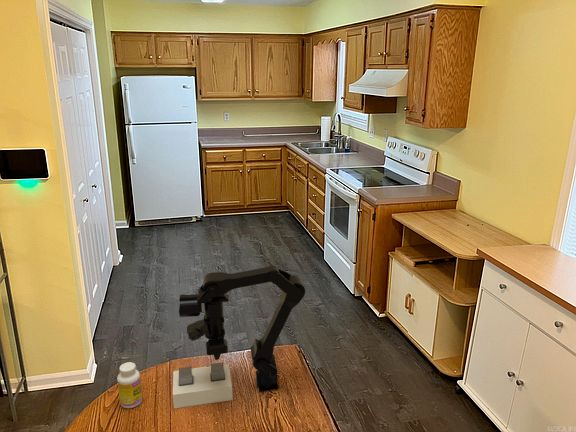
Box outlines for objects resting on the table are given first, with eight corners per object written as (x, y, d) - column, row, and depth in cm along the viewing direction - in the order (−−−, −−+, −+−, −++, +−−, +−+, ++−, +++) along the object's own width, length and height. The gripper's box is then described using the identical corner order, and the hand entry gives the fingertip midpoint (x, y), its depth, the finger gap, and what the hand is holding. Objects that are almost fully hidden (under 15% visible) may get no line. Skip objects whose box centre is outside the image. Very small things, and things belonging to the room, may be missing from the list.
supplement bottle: (135, 410, 138) (131, 374, 134) (116, 407, 139) (111, 372, 135) (146, 396, 144) (142, 361, 140) (127, 393, 145) (123, 359, 142)
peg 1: (192, 379, 146) (191, 366, 145) (192, 387, 143) (191, 374, 141) (179, 381, 146) (178, 368, 144) (179, 389, 142) (178, 375, 140)
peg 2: (223, 375, 148) (223, 362, 147) (224, 383, 145) (224, 369, 143) (211, 377, 148) (210, 363, 146) (212, 384, 144) (211, 371, 142)
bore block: (229, 376, 154) (228, 363, 152) (232, 399, 142) (232, 386, 141) (174, 383, 150) (173, 370, 148) (173, 408, 139) (172, 394, 137)
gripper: (187, 302, 146) (190, 344, 151) (187, 332, 129) (191, 379, 133) (221, 298, 148) (224, 340, 153) (226, 328, 131) (229, 374, 136)
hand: (216, 357), depth 144 cm, fingers closed
